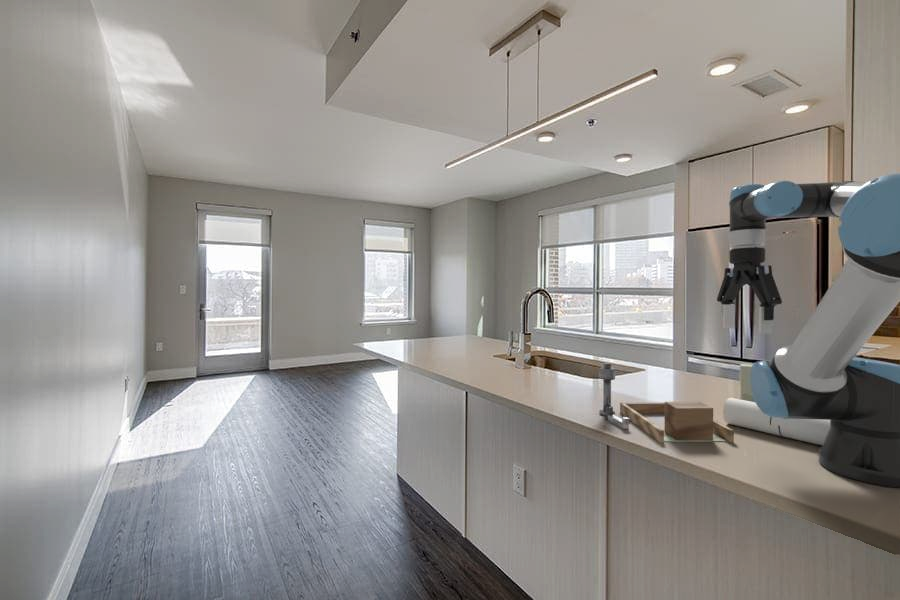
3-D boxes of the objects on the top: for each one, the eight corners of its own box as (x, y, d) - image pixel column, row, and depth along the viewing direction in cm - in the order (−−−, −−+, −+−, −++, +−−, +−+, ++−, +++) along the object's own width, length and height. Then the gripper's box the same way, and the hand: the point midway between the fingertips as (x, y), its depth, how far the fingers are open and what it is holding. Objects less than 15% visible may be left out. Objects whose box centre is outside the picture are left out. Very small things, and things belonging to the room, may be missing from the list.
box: (759, 404, 136) (759, 364, 136) (760, 408, 132) (760, 367, 132) (739, 402, 139) (739, 363, 139) (739, 405, 135) (740, 365, 135)
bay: (733, 442, 104) (733, 430, 104) (659, 442, 104) (660, 430, 104) (679, 412, 129) (679, 402, 129) (620, 412, 129) (620, 402, 129)
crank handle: (631, 429, 114) (631, 416, 113) (624, 430, 113) (624, 416, 113) (610, 418, 124) (610, 405, 124) (604, 418, 123) (604, 406, 123)
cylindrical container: (725, 428, 117) (846, 457, 96) (721, 404, 115) (844, 429, 95) (736, 416, 121) (855, 442, 100) (733, 393, 119) (853, 415, 99)
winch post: (617, 416, 125) (617, 364, 125) (602, 416, 125) (602, 364, 125) (611, 411, 130) (611, 361, 129) (597, 412, 130) (597, 362, 129)
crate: (713, 440, 105) (713, 408, 105) (676, 440, 105) (676, 408, 105) (699, 431, 111) (699, 401, 111) (664, 432, 111) (664, 401, 111)
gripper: (802, 242, 95) (800, 336, 96) (729, 251, 120) (729, 326, 121) (768, 242, 95) (767, 336, 96) (703, 252, 120) (702, 326, 121)
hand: (746, 331), depth 108 cm, fingers open, 13 cm apart
